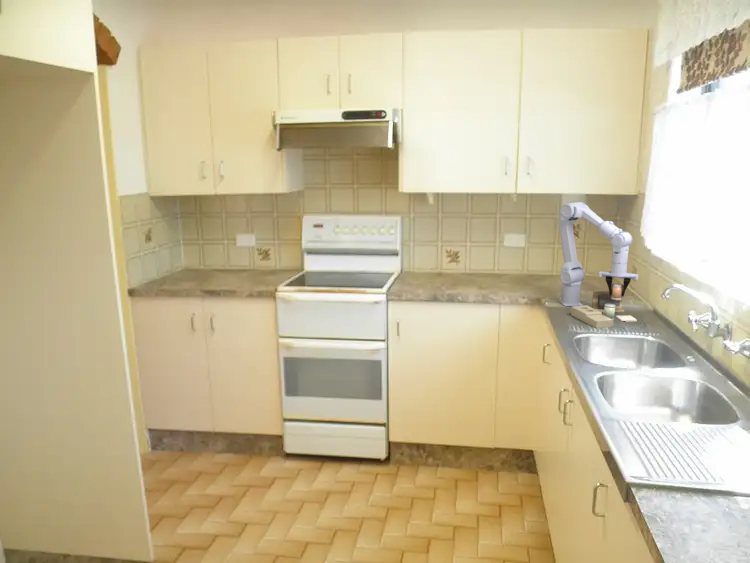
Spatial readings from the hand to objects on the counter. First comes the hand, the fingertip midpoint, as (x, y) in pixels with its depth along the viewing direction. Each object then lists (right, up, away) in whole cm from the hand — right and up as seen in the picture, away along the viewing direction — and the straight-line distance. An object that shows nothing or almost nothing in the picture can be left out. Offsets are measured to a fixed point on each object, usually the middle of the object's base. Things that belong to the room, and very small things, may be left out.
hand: (616, 295), depth 233 cm
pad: (+2, -9, -3) cm, 10 cm away
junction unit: (0, -6, +9) cm, 11 cm away
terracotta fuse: (0, -1, 0) cm, 1 cm away
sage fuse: (-4, -9, -3) cm, 11 cm away
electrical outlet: (-12, -10, -4) cm, 17 cm away
